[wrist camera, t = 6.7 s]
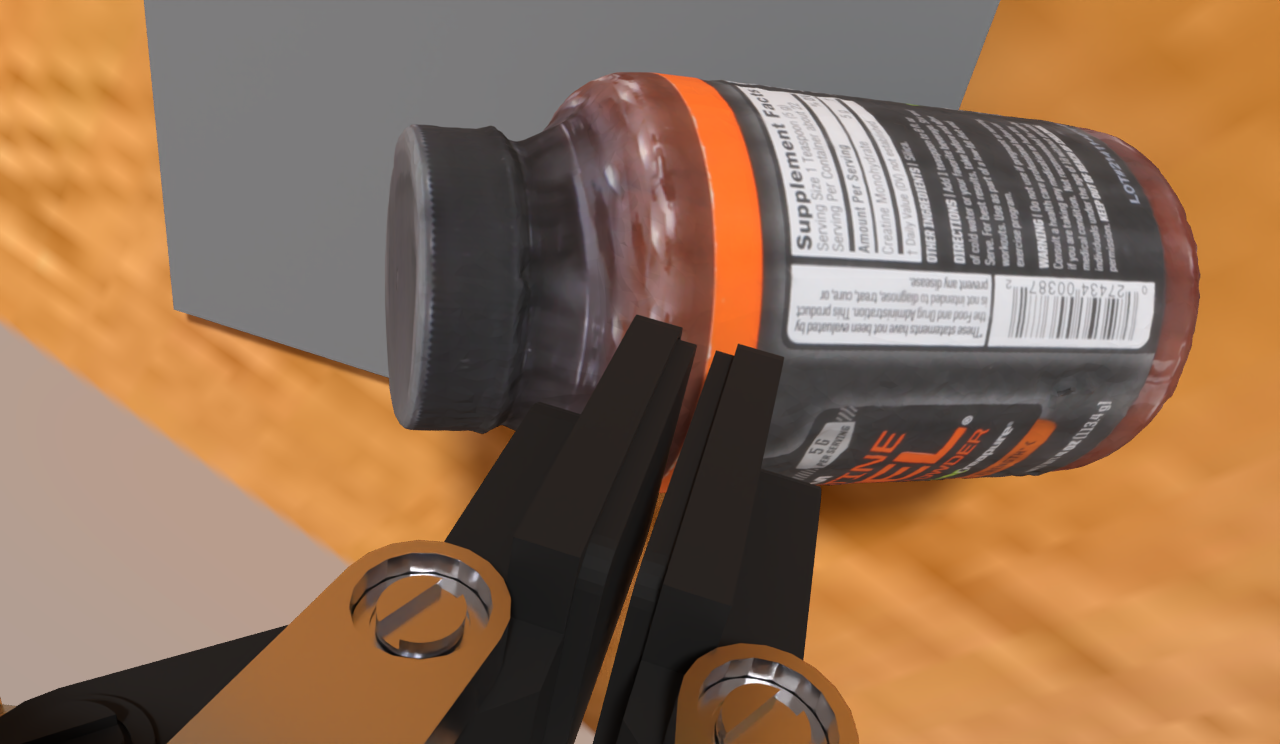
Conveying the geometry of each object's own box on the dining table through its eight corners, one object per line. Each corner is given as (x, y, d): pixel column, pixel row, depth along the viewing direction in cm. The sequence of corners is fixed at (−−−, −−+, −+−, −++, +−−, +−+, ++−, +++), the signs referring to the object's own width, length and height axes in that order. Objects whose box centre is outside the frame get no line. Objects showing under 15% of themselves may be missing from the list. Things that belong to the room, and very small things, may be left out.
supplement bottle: (987, 503, 18) (383, 540, 14) (926, 226, 19) (374, 190, 16) (1280, 422, 12) (431, 444, 9) (1159, 51, 14) (410, -71, 10)
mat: (1080, -225, 14) (1086, -229, 14) (809, 495, 22) (806, 510, 22) (126, -427, 16) (101, -436, 16) (189, 299, 24) (174, 309, 24)
